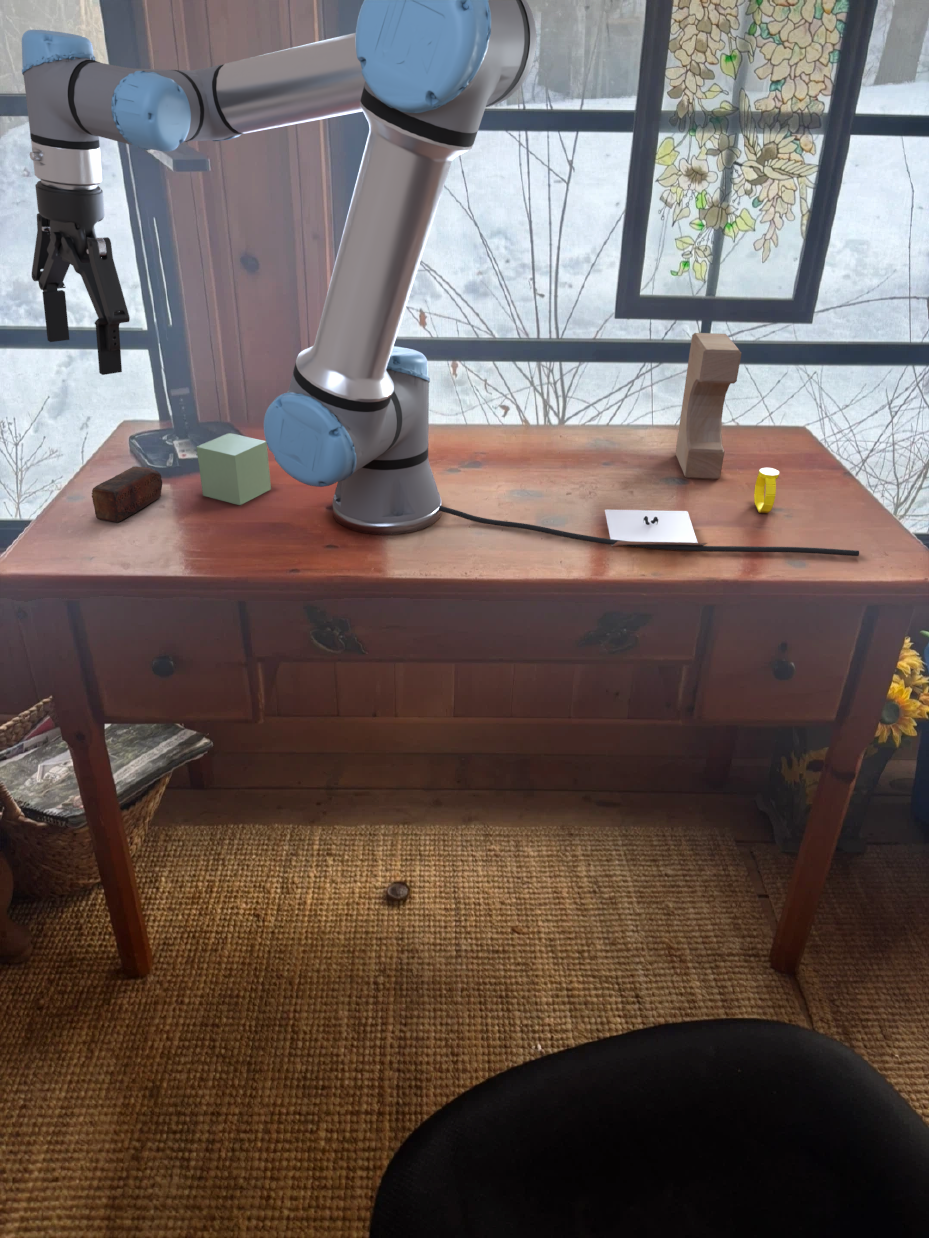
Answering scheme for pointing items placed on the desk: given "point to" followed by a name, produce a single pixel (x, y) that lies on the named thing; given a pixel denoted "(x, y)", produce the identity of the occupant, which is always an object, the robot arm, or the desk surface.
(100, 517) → the brick
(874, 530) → the desk surface
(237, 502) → the green block
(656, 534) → the folded paper
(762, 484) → the watch
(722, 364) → the decorative block
